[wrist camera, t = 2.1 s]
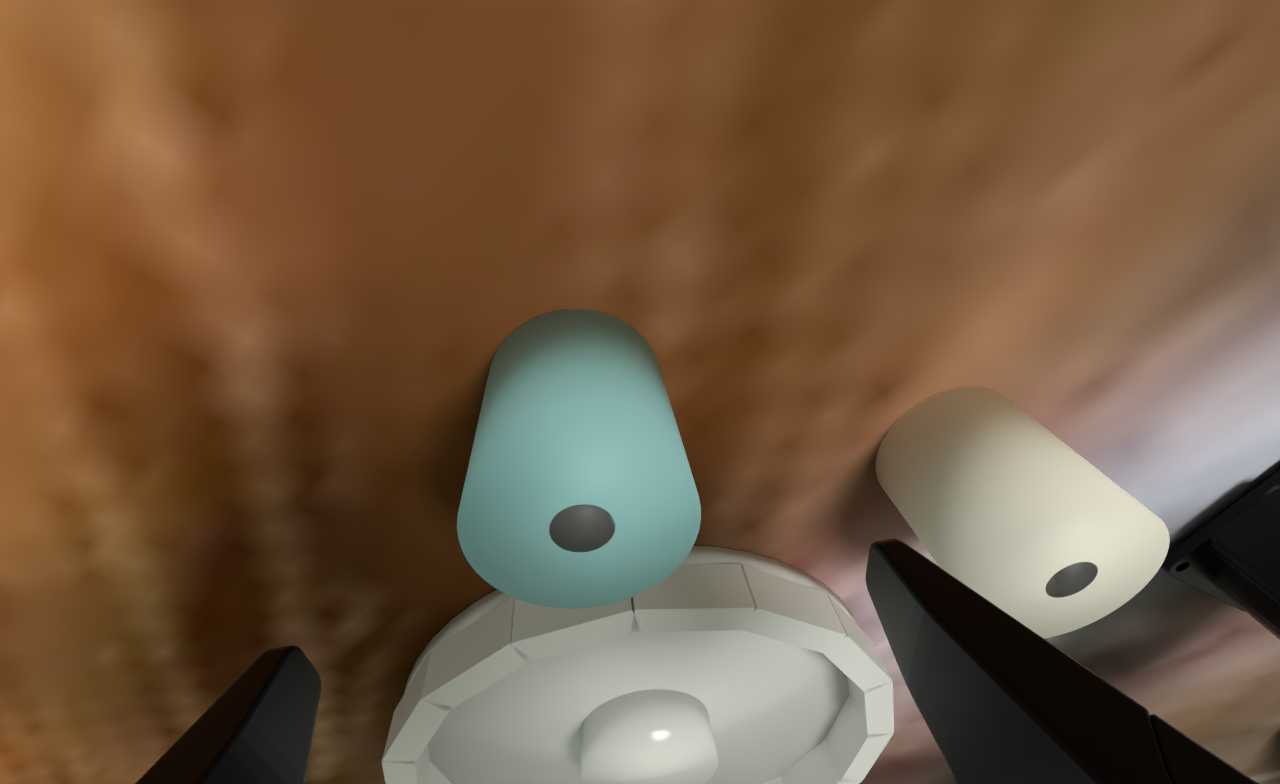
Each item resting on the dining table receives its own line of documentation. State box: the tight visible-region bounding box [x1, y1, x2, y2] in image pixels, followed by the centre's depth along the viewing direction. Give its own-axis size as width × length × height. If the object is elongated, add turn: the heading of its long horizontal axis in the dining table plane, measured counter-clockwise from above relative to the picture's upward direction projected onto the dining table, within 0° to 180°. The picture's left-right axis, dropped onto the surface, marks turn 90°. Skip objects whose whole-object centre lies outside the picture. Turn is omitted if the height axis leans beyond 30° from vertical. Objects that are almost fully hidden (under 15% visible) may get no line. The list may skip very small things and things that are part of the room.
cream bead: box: [875, 386, 1170, 639], centre depth 15 cm, size 4×4×5 cm
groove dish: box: [382, 545, 894, 784], centre depth 21 cm, size 18×18×2 cm
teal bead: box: [457, 309, 701, 609], centre depth 12 cm, size 4×4×5 cm
